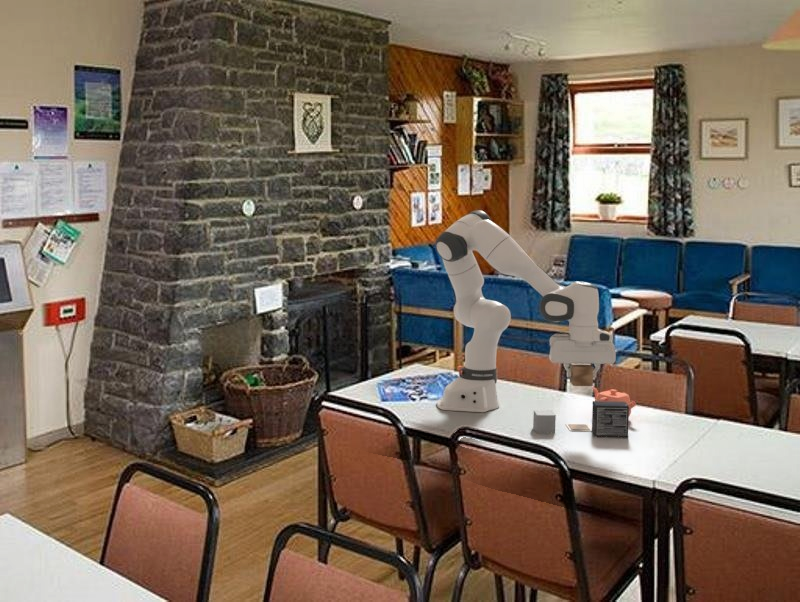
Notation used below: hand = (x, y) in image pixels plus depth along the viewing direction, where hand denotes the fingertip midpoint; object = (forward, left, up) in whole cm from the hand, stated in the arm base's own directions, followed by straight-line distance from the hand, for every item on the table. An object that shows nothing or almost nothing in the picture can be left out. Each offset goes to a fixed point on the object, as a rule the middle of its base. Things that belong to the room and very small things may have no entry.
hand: (581, 377), depth 252 cm
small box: (+10, +2, -19) cm, 22 cm away
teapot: (+16, +21, -19) cm, 33 cm away
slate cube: (-10, +6, -19) cm, 23 cm away
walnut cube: (0, 0, -2) cm, 2 cm away
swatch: (+2, +9, -19) cm, 21 cm away
